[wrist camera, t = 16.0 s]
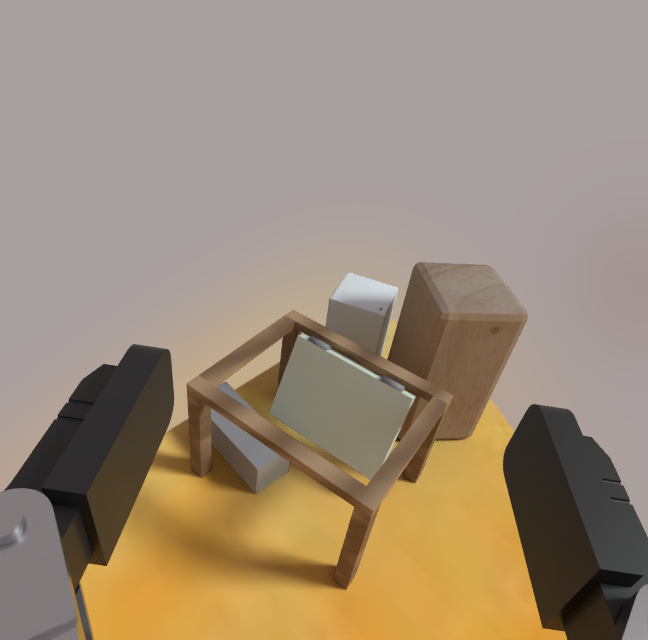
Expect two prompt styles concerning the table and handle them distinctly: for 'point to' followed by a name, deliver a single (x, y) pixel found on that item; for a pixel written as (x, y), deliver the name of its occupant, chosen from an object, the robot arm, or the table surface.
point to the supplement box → (362, 312)
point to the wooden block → (456, 338)
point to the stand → (362, 497)
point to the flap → (341, 405)
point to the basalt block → (245, 449)
